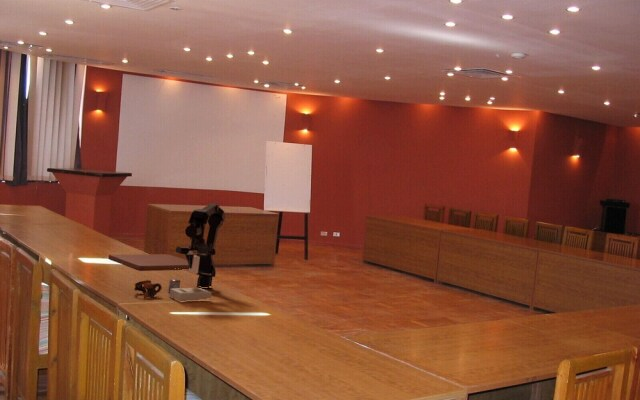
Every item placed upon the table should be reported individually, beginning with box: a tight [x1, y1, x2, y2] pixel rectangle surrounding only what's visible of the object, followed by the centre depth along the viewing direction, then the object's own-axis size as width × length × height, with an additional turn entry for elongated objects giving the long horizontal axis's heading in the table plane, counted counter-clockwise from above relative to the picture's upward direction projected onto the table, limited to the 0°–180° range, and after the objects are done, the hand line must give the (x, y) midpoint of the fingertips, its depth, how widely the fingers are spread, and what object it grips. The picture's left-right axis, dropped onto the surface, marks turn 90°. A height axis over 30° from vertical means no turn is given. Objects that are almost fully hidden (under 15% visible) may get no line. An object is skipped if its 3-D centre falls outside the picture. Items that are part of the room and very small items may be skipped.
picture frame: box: [108, 253, 189, 271], centre depth 402 cm, size 40×3×33 cm
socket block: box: [168, 287, 213, 301], centre depth 322 cm, size 16×10×4 cm, turn 130°
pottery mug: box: [134, 279, 163, 299], centre depth 318 cm, size 12×10×8 cm
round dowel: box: [168, 278, 181, 293], centre depth 332 cm, size 5×5×6 cm
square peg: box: [188, 255, 200, 274], centre depth 333 cm, size 3×3×8 cm
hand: (193, 268), depth 333 cm, fingers closed on square peg, 3 cm apart
